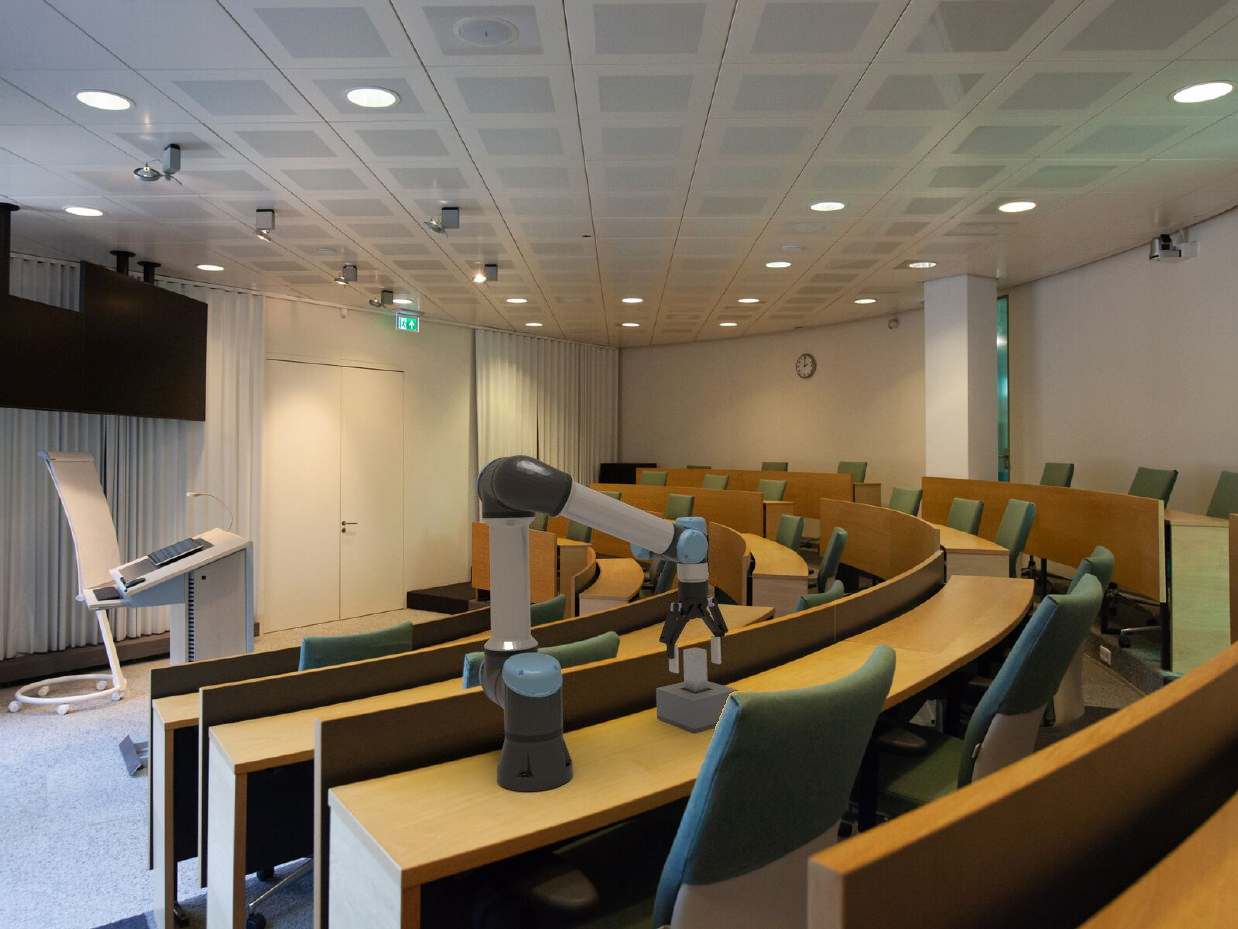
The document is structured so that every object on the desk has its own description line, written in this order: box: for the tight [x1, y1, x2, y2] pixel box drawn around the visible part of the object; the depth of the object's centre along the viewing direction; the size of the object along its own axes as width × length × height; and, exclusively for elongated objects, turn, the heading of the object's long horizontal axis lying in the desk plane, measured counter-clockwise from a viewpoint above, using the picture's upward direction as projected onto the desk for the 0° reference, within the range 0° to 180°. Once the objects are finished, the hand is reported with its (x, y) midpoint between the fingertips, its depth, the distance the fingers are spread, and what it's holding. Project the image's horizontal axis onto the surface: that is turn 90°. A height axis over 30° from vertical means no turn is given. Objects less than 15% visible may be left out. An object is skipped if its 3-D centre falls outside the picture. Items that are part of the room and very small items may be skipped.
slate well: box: [655, 680, 738, 734], centre depth 181 cm, size 14×14×8 cm
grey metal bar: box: [682, 647, 708, 694], centre depth 181 cm, size 4×4×16 cm
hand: (695, 667), depth 181 cm, fingers open, 13 cm apart
